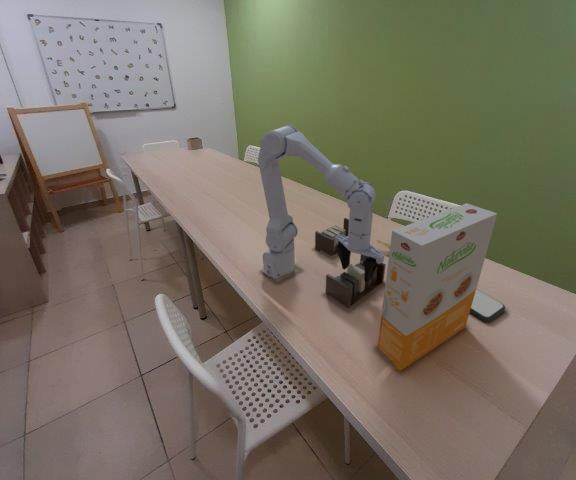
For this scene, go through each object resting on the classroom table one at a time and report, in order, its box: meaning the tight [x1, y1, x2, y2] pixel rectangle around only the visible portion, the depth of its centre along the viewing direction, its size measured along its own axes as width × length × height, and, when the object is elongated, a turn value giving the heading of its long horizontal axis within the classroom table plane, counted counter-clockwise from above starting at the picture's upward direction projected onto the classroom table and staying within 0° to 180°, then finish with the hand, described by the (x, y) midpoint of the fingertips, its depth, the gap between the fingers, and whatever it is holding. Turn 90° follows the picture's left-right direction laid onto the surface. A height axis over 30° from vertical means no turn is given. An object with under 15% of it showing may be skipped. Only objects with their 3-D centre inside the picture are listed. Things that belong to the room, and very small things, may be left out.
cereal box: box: [377, 202, 498, 372], centre depth 63 cm, size 22×6×30 cm, turn 120°
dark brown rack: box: [314, 217, 349, 257], centre depth 106 cm, size 16×8×7 cm, turn 130°
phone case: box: [469, 288, 506, 323], centre depth 80 cm, size 9×2×16 cm
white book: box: [346, 263, 365, 293], centre depth 83 cm, size 2×5×6 cm, turn 40°
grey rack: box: [325, 254, 387, 309], centre depth 83 cm, size 16×8×7 cm, turn 130°
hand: (356, 273), depth 83 cm, fingers open, 7 cm apart
